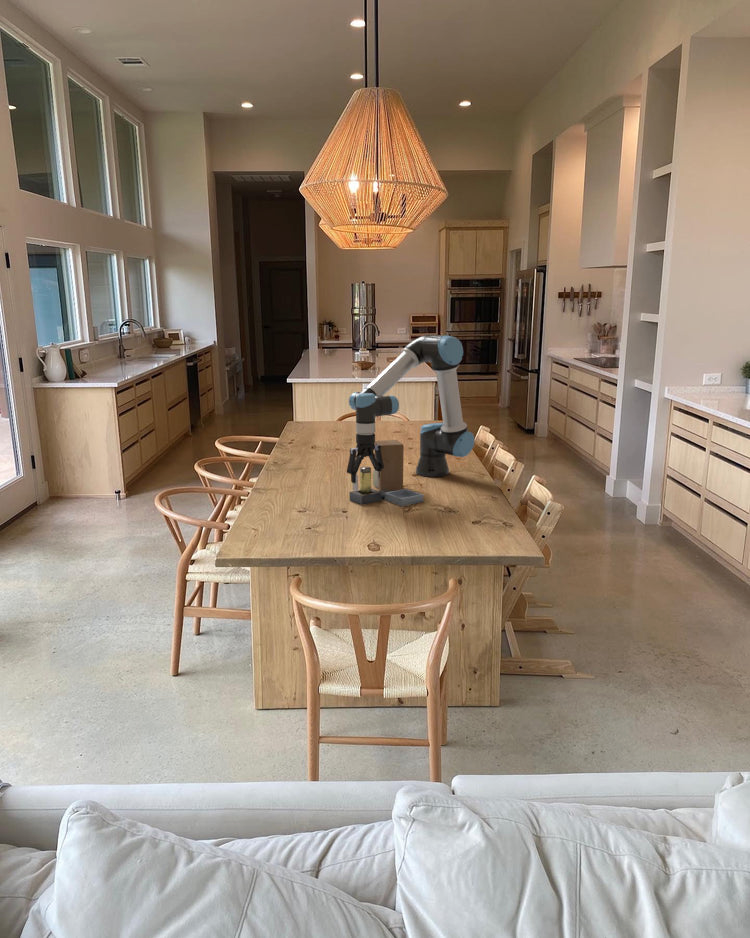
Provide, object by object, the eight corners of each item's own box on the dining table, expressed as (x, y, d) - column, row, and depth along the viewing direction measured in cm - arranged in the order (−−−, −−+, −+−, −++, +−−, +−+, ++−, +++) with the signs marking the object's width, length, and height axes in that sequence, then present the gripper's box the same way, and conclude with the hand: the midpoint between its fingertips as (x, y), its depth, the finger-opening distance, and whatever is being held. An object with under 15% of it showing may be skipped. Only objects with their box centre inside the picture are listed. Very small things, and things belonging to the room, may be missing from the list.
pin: (366, 498, 297) (366, 466, 294) (373, 501, 293) (373, 468, 290) (357, 500, 294) (357, 467, 291) (364, 502, 291) (364, 469, 288)
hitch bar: (384, 493, 305) (384, 484, 304) (397, 497, 298) (397, 489, 298) (349, 500, 294) (349, 491, 293) (361, 505, 288) (361, 496, 287)
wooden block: (380, 492, 306) (380, 445, 301) (374, 486, 315) (374, 440, 311) (403, 490, 309) (404, 444, 304) (396, 484, 318) (396, 439, 313)
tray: (405, 495, 301) (405, 488, 300) (423, 501, 293) (423, 494, 292) (384, 500, 295) (384, 493, 294) (402, 506, 286) (402, 499, 285)
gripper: (381, 428, 297) (381, 482, 302) (336, 434, 284) (337, 490, 289) (393, 431, 291) (393, 486, 296) (348, 437, 278) (348, 494, 283)
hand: (365, 488), depth 293 cm, fingers open, 9 cm apart
